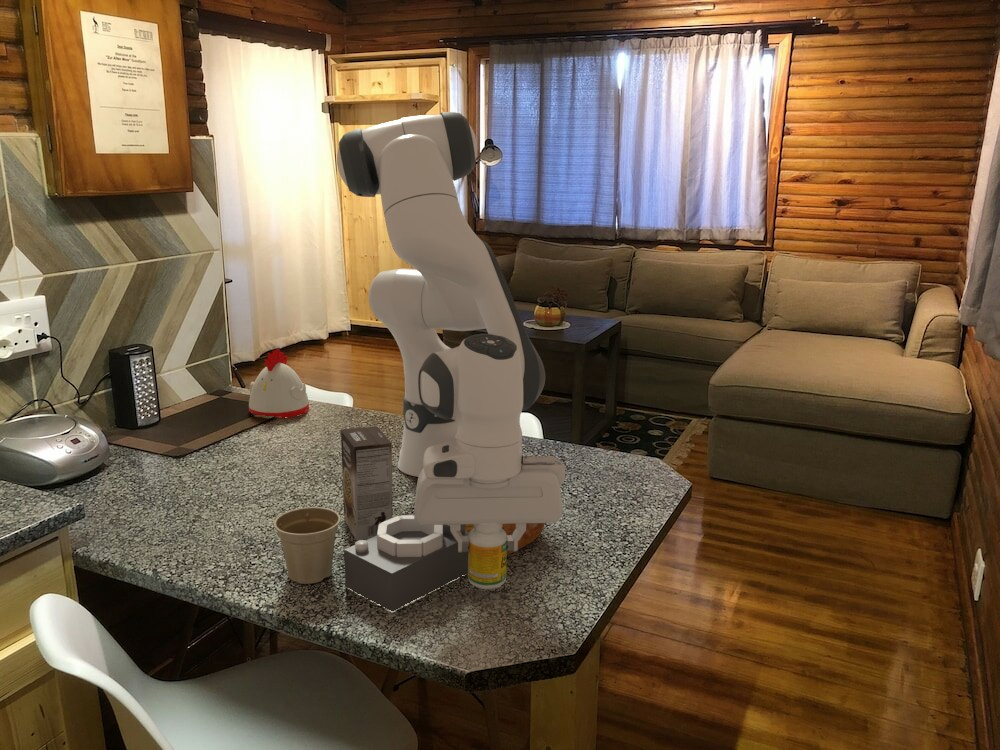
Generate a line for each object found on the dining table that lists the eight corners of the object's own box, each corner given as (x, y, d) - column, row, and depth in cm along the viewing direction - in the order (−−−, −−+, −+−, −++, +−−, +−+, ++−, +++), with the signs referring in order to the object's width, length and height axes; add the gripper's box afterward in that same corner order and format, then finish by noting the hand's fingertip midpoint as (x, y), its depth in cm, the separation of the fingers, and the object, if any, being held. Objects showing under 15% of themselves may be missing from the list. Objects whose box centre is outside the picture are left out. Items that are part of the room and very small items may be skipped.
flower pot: (267, 569, 120) (264, 515, 118) (326, 553, 125) (324, 501, 123) (291, 597, 113) (288, 540, 111) (353, 578, 118) (351, 524, 116)
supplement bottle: (468, 570, 116) (468, 509, 114) (505, 570, 116) (506, 509, 114) (468, 590, 111) (468, 526, 109) (507, 590, 111) (508, 526, 109)
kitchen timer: (237, 415, 191) (233, 353, 187) (270, 399, 204) (267, 341, 200) (288, 422, 187) (285, 359, 183) (319, 406, 200) (317, 346, 196)
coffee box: (342, 519, 137) (339, 428, 133) (379, 513, 140) (377, 424, 136) (355, 542, 129) (352, 446, 125) (394, 535, 132) (392, 441, 128)
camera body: (426, 549, 127) (426, 502, 125) (473, 571, 121) (474, 521, 119) (345, 587, 115) (343, 536, 113) (392, 613, 109) (391, 559, 107)
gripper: (562, 447, 113) (558, 538, 116) (414, 449, 111) (415, 540, 115) (569, 464, 107) (565, 559, 110) (412, 466, 105) (414, 562, 109)
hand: (487, 550), depth 113 cm, fingers closed on supplement bottle, 5 cm apart
